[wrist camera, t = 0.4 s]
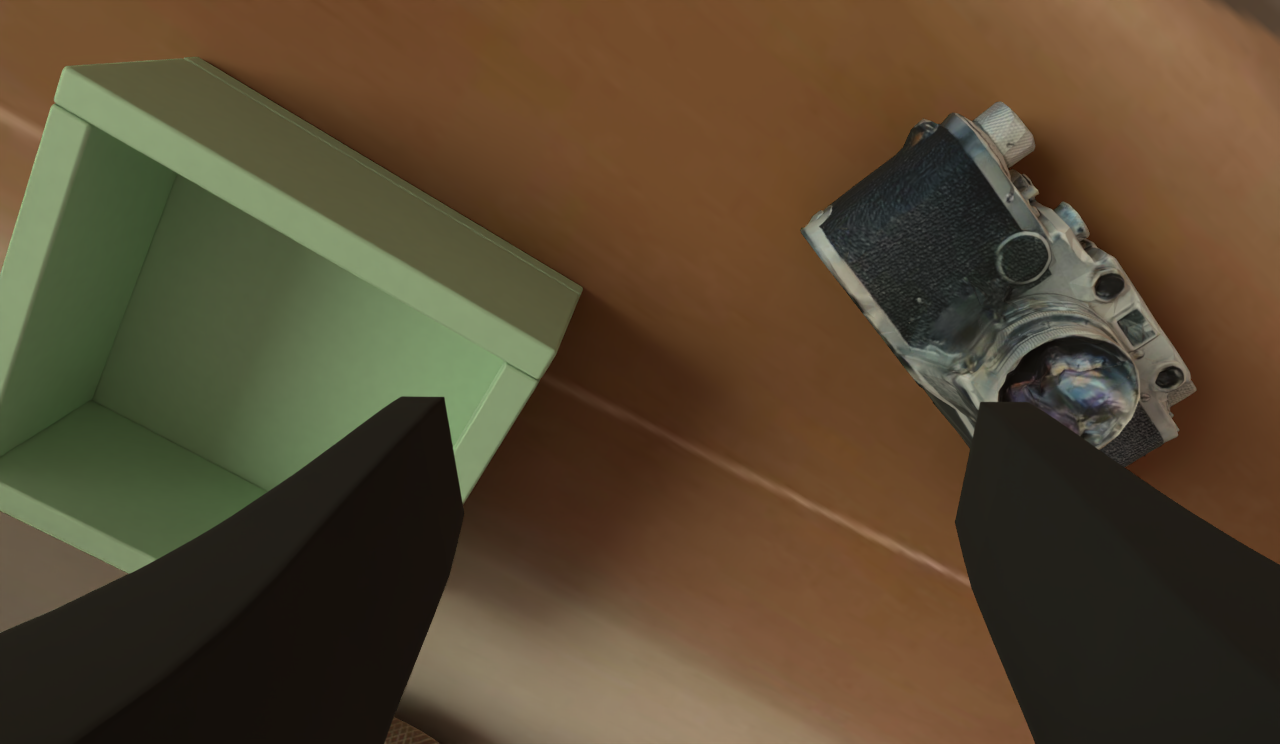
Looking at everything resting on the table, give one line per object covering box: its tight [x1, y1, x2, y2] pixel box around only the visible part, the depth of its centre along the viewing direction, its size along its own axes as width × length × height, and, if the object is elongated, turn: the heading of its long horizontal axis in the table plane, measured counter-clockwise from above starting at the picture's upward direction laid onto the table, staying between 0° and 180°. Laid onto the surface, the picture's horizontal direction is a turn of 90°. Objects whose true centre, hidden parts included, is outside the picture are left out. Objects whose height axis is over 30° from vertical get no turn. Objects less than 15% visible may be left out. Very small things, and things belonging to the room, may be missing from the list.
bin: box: [0, 57, 583, 574], centre depth 20 cm, size 11×11×5 cm
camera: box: [800, 102, 1196, 467], centre depth 19 cm, size 5×10×4 cm, turn 40°
